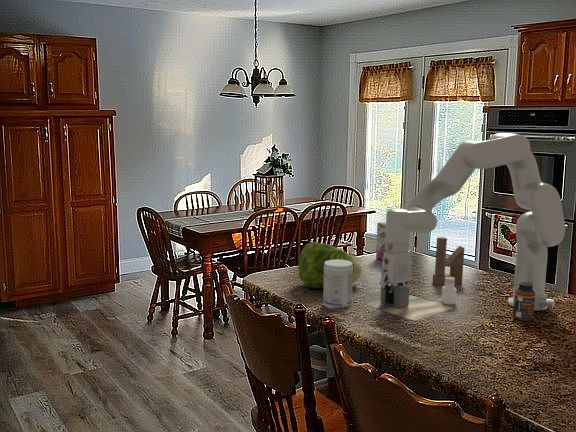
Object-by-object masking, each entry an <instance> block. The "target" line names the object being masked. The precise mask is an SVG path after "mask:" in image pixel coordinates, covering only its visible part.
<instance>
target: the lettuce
mask: <svg viewBox="0 0 576 432" xmlns="http://www.w3.org/2000/svg"><path fill="white" fill-rule="evenodd" d="M336 259H338V260H347V261H350V262H352V263H353V283H354V282H356V281H358V280H359V278H360V277H361V276H362V273H363V272H362V270H363V269H362V265H361V264H360V263H359V261H357V260H356V259H355V258H353V256H351V255H350V254H349V253H348V252H346V251H344V250H343V249H340V248H338V247H335V246H333V245H332V244H328V243H324V242H323V243H322V242H317V241H316V242H315V241H311V242H309V243H307V244H305V245H304V247H303V248H302V249H301V253H300V256H299V260H298V277H299V280H300V281H301V282H302V283H303V284H304V285H305V286H306V287H310V288H311V289H323V288H324V263H325V261H328V260H336Z"/></svg>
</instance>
